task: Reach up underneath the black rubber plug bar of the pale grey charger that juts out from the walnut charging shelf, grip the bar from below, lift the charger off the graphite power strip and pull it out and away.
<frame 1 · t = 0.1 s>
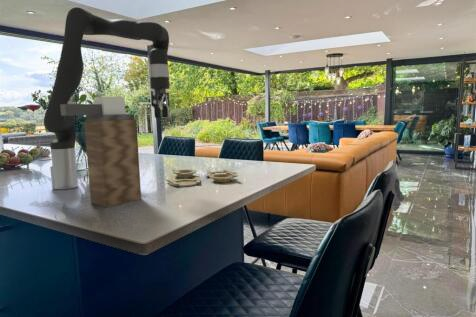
hand: (161, 117, 135), 29 cm above the table, tool pointing down, fingers open, 8 cm apart
sunglasses: (92, 177, 172), on the table
charger: (110, 114, 117), point 31 cm above the table, touching shelf
shelf: (116, 200, 121), on the table
tableware set: (203, 180, 158), on the table
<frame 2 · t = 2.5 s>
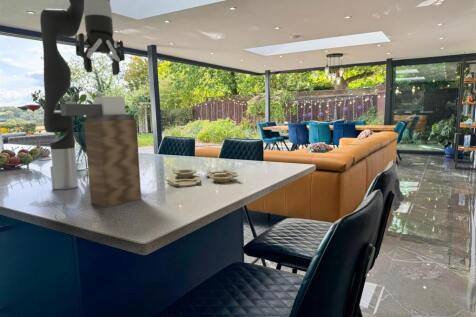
hand: (102, 73, 100), 43 cm above the table, tool pointing down, fingers open, 8 cm apart
nothing on the table moved.
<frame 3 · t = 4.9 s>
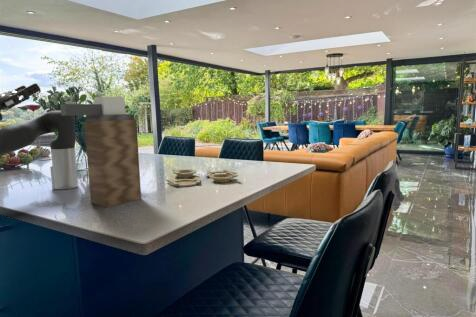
hand: (32, 87, 95), 39 cm above the table, tool pointing upward, fingers open, 8 cm apart
nothing on the table moved.
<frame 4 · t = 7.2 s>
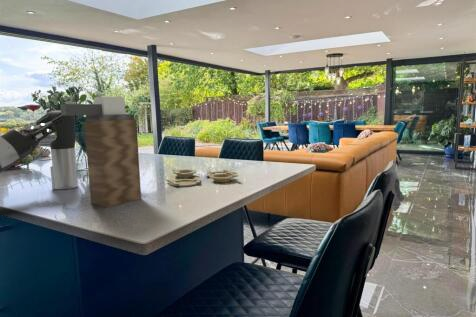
hand: (57, 118, 103), 30 cm above the table, tool pointing upward, fingers open, 8 cm apart
nothing on the table moved.
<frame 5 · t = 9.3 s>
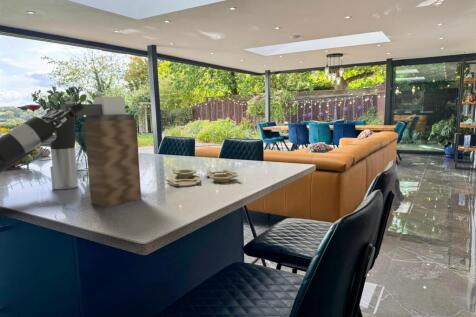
hand: (78, 105, 108), 34 cm above the table, tool pointing upward, fingers closed on charger, 3 cm apart
charger: (110, 114, 117), point 31 cm above the table, touching gripper, shelf
everything else where it was.
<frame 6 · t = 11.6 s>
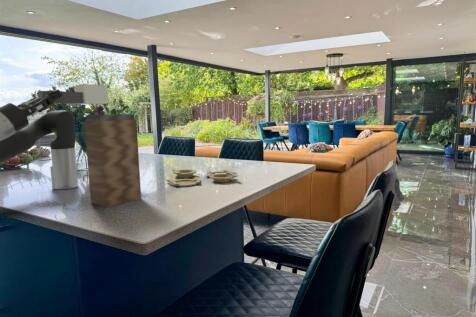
hand: (57, 92, 102), 38 cm above the table, tool pointing upward, fingers closed on charger, 3 cm apart
charger: (92, 103, 111), point 35 cm above the table, touching gripper
everything else where it was.
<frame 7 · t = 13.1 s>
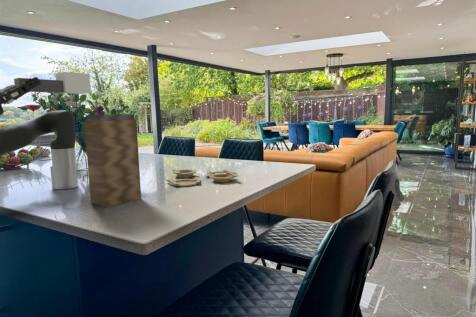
hand: (35, 80, 98), 41 cm above the table, tool pointing upward, fingers closed on charger, 3 cm apart
charger: (74, 93, 107), point 38 cm above the table, touching gripper
everything else where it was.
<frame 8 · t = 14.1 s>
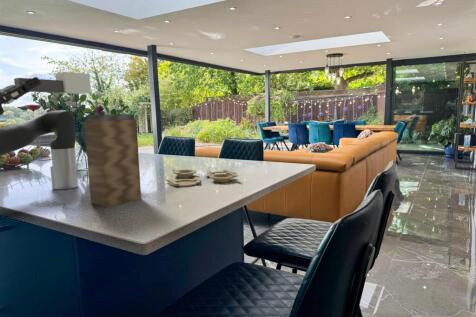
hand: (35, 80, 98), 41 cm above the table, tool pointing upward, fingers closed on charger, 3 cm apart
charger: (74, 93, 107), point 38 cm above the table, touching gripper
everything else where it was.
at the end: the gripper is holding charger; charger moved 13.9 cm from its start; charger touching gripper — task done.
